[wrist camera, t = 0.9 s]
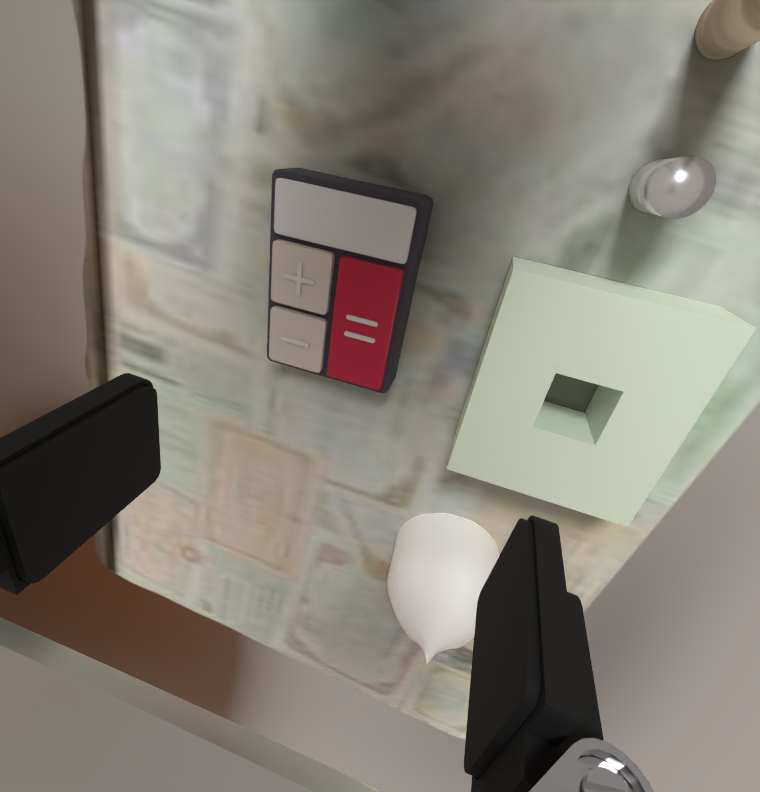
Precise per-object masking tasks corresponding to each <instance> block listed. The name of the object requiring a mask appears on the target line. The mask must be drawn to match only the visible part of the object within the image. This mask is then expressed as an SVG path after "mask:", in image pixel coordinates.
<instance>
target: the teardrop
mask: <svg viewBox="0 0 760 792" xmlns="http://www.w3.org/2000/svg"><path fill="white" fill-rule="evenodd" d="M498 558H499V552H498V548H497V544H496V542H495V541H494V540H493V538H492V537H491V536H490V535H489V534H488V532H487V531H486V530H485V529H483V528H482V527H480V526H479V525H477V524H476V523H474V522H473V521H471V520H468V519H465V518H462V517H459V516H455V515H452V514H449V513H431V514H420V515H418V516H416V517H414V518H412V519H410V520H408V521H407V522H406V523H405V524H404V525H403V526H402V527H401V528H400V529H399V531H398V535H397V539H396V543H395V547H394V552H393V556H392V561H391V565H390V570H389V574H388V579H387V588H388V594H389V597H390V600H391V603H392V606H393V609H394V612H395V614H396V617H397V620H398V622H399V624H400V625H401V627H402V628H403V630H404V631H405V632H406V634H407V635H408V637H409V638H410V639H411V640H413V641H415V642H416V643H417V644H418V645H419V646H420V647H421V648H422V649H423V651H424V655H425V659H426V663H427V664H428V662H429V661H430V660H431V659H432V657H433V656H434V655H435V654H436V653H438V652H441V651H444V650H447V649H456V648H460V647H462V646H463V645H465V644H466V643H468V642H469V641H470V640H471V639H472V638H473V637H474V635H475V623H476V610H477V602H478V598H479V595H480V592H481V590H482V588H483V586H484V584H485V582H486V580H487V578H488V577H489V575H490V573H491V571H492V569H493V567H494V565H495V563H496V561H497V560H498Z"/></svg>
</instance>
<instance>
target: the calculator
mask: <svg viewBox="0 0 760 792" xmlns="http://www.w3.org/2000/svg"><path fill="white" fill-rule="evenodd" d="M432 205H433V201H432V198H431V197H429V196H427V195H422V194H418V193H413V192H408V191H404V190H399V189H394V188H390V187H385V186H380V185H376V184H371V183H367V182H362V181H357V180H353V179H348V178H343V177H339V176H334V175H329V174H325V173H320V172H316V171H311V170H306V169H302V168H288V169H278V170H275V171H274V172H273V175H272V202H271V237H270V272H269V307H268V342H267V357H268V359H269V360H271V361H274V362H277V363H280V364H284V365H287V366H291V367H294V368H298V369H301V370H304V371H308V372H311V373H315V374H318V375H322V376H325V377H328V378H332V379H335V380H339V381H342V382H346V383H349V384H352V385H356V386H359V387H363V388H366V389H370V390H373V391H376V392H380V393H386V392H387V391H388V389H389V387H390V386H391V384H392V382H393V380H394V378H395V376H396V371H397V366H398V362H399V357H400V353H401V348H402V343H403V339H404V334H405V329H406V324H407V320H408V315H409V310H410V305H411V301H412V296H413V291H414V286H415V282H416V277H417V272H418V267H419V263H420V259H421V256H422V252H423V247H424V242H425V238H426V233H427V229H428V224H429V219H430V215H431V210H432Z"/></svg>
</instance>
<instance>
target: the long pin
mask: <svg viewBox="0 0 760 792" xmlns="http://www.w3.org/2000/svg"><path fill="white" fill-rule="evenodd" d="M695 41H696V46H697V48H698V50H699V52H700V53H701V54H702V55H703V56H705V57H707V58H709V59H714V60H720V59H725V58H728V57H731V56H733V55H735V54H737V53H738V52H740V51H742V50H744V49H746V48H747V47H749V46H751V45H753V44H755V43H756V42H758V41H760V0H713V1H712V2H711V3H710V4H709V5H708V7H707V8H706V9H705V10H704V12H703V13H702V15H701V17H700V19H699V21H698V24H697V27H696V32H695Z"/></svg>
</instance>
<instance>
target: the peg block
mask: <svg viewBox="0 0 760 792" xmlns="http://www.w3.org/2000/svg"><path fill="white" fill-rule="evenodd" d="M755 329H756V328H754V327H753V326H751V325H750V324H748V323H746V322H745V321H743V320H741V319H740V318H738V317H737V316H735V315H733V314H732V313H730V312H728V311H727V310H725V309H723V308H722V307H720V306H717V305H712V304H708V303H704V302H700V301H696V300H692V299H688V298H683V297H679V296H675V295H671V294H667V293H663V292H658V291H654V290H650V289H646V288H642V287H638V286H634V285H629V284H625V283H621V282H617V281H613V280H609V279H605V278H600V277H596V276H592V275H588V274H584V273H580V272H576V271H571V270H567V269H563V268H559V267H555V266H551V265H547V264H542V263H538V262H534V261H530V260H526V259H522V258H517V257H513V259H512V262H511V265H510V268H509V271H508V274H507V277H506V280H505V283H504V286H503V289H502V292H501V295H500V298H499V301H498V304H497V307H496V310H495V313H494V316H493V319H492V323H491V326H490V329H489V332H488V335H487V338H486V341H485V344H484V347H483V350H482V353H481V356H480V359H479V362H478V365H477V368H476V371H475V374H474V377H473V380H472V383H471V386H470V389H469V393H468V396H467V399H466V402H465V405H464V408H463V411H462V414H461V417H460V420H459V423H458V426H457V429H456V432H455V435H454V439H453V443H452V448H451V452H450V457H449V461H448V465H447V469H448V470H451V471H454V472H457V473H460V474H463V475H466V476H470V477H473V478H476V479H479V480H482V481H485V482H488V483H491V484H495V485H498V486H501V487H504V488H507V489H510V490H513V491H516V492H520V493H523V494H526V495H529V496H532V497H535V498H538V499H542V500H545V501H548V502H551V503H554V504H557V505H560V506H563V507H567V508H570V509H573V510H576V511H579V512H582V513H585V514H588V515H592V516H595V517H598V518H601V519H604V520H607V521H610V522H613V523H617V524H620V525H623V526H626V527H628V526H629V524H630V523H631V521H632V519H633V518H634V516H635V515H636V513H637V512H638V510H639V509H640V507H641V506H642V504H643V502H644V501H645V499H646V498H647V496H648V495H649V493H650V492H651V490H652V489H653V487H654V485H655V484H656V482H657V481H658V479H659V478H660V476H661V475H662V473H663V472H664V470H665V468H666V467H667V465H668V464H669V462H670V461H671V459H672V458H673V456H674V454H675V453H676V451H677V450H678V448H679V447H680V445H681V444H682V442H683V441H684V439H685V437H686V436H687V434H688V433H689V431H690V430H691V428H692V427H693V425H694V424H695V422H696V420H697V419H698V417H699V416H700V414H701V413H702V411H703V410H704V408H705V406H706V405H707V403H708V402H709V400H710V399H711V397H712V396H713V394H714V393H715V391H716V389H717V388H718V386H719V385H720V383H721V382H722V380H723V379H724V377H725V376H726V374H727V372H728V371H729V369H730V368H731V366H732V365H733V363H734V362H735V360H736V359H737V357H738V355H739V354H740V352H741V351H742V349H743V348H744V346H745V345H746V343H747V341H748V340H749V338H750V337H751V335H752V334H753V332H754V331H755ZM556 373H557V374H561V375H565V376H568V377H572V378H575V379H579V380H583V381H586V382H590V383H594V384H597V385H598V387H597V389H596V391H595V393H594V395H593V397H592V399H591V401H590V403H589V405H588V407H587V409H586V411H585V413H584V412H581V411H577V410H574V409H570V408H567V407H563V406H560V405H556V404H553V403H549V402H546V401H544V399H545V397H546V395H547V392H548V390H549V388H550V385H551V383H552V381H553V378H554V376H555V374H556Z"/></svg>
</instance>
